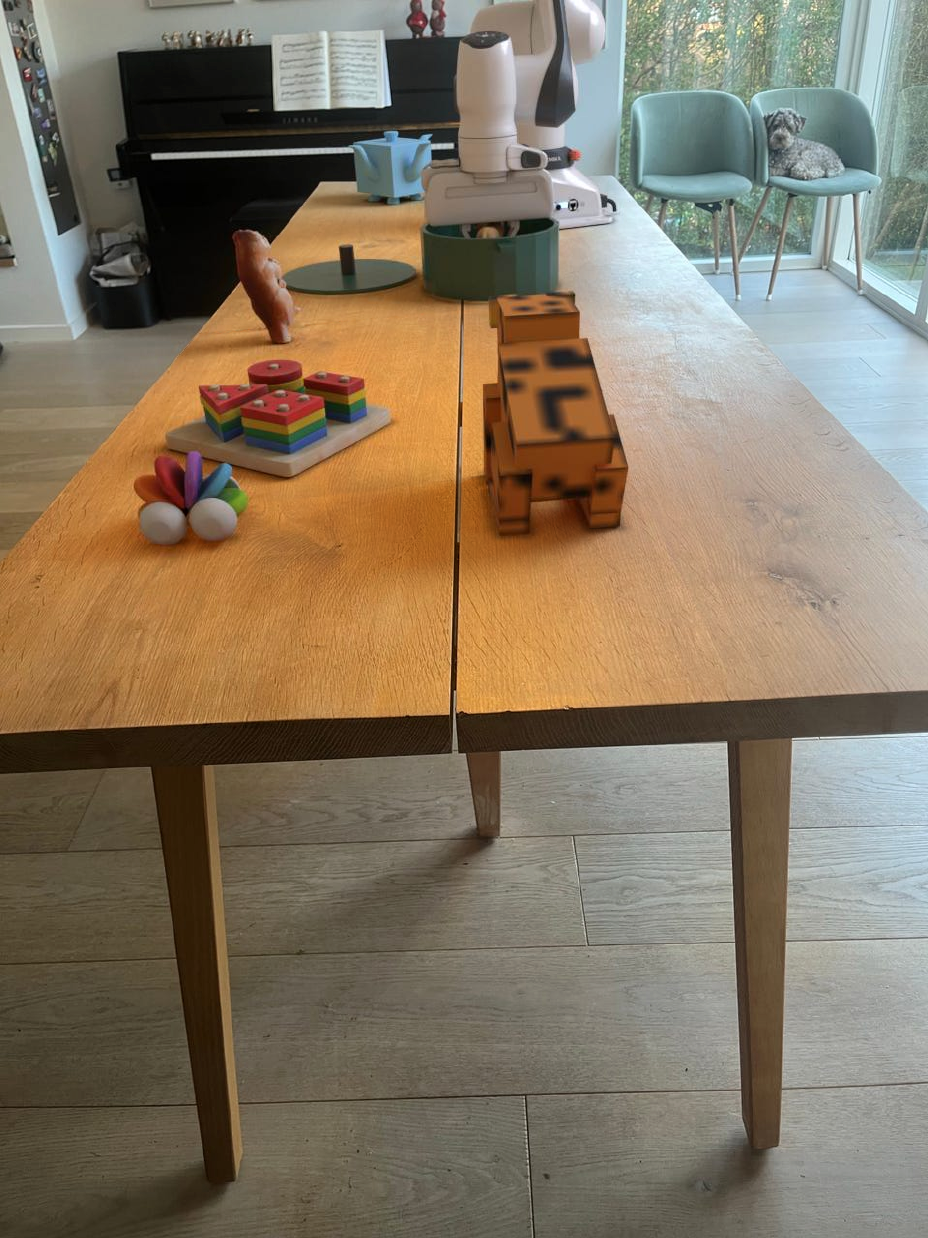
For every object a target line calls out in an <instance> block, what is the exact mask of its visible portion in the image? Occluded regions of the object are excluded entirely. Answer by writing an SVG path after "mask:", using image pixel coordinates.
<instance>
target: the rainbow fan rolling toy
mask: <svg viewBox="0 0 928 1238" xmlns="http://www.w3.org/2000/svg"><path fill="white" fill-rule="evenodd" d="M153 467H154V473H155V474H143V475H140V476H138V477H137V478H136V479H135V480H134V482H133V490H134V493H135V494H136V495H137V496H138V497H139V498H140V499H141V500H142V501H143V502H144V503H143V504H142V505H140V507H139V508H138V510H137V518H138V522H139V529H140V531H141V533H142V535H143V536H144V537H145V539H147V541H149V542H151V543H152V544H154V545H157V546H163V547H164V546H165V547H166V546H171V545H175V544H176V543H179V541H181V540H182V539H183V538H184V537H185V535H186V534H187V532H188V525H189V526H190V528H191V529H192V531H193V532H194V534H195V535H196V536H197V537H198V538H200V539H202V540H204V541H207V542H211V543H217V542H222V541H224V540H226V539H228V538H229V537H230V536H232V535H233V533H234V532H235V531H236V529H237V525H238V516H239V515H241V514H242V513H243V512H245V510H246V509H247V508H248V505H249V499H248V496H247V494H246V492H245V491H244V490H242V488H241V486H240V484H239V482H238V481H237V480H236V479H235V477H233V476H232V474H233V467H232V466H231V464H229V463H225V462H222V463H221V464H219V465H217V467H215V469H213V471H212V472H211V473H209V474H207V475H205V476H204V474H203V473H204V472H203V470H204V469H203V468H204V467H203V457H201V455H200V453H199V452H197V451H191V452H189V453H187V455H186V460H185V467H184V469H183V467H182V466H181V464H180V463H179V462H178V461H177V460H176V459H175V458H173V457H171V456H170V455H165V454H162V455H159V456H157V457H156V458H155V459H154V463H153ZM203 476H204V477H203ZM188 515H189V516H188ZM187 517H188V520H187ZM188 522H189V523H188Z"/></svg>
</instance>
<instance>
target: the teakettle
mask: <svg viewBox="0 0 928 1238" xmlns="http://www.w3.org/2000/svg"><path fill="white" fill-rule="evenodd" d="M383 136H384V137H383V138H377V139H376V138H375V139H369V140H368V139H367V140H362V141H356V142H353V143H352V145H348V148H350V149H352V150H353V157H354V167H355V168H354V169H355V180H356V181H355V182H356V191H357V192H356V193H360V194H367V195H370V197H369V199H368V202H371V203H372V202H373V203H374V202H380V201H381V200H382V197H387V201H386V204H387V205H390V206H391V205H393V206H394V205H400V203H401V201H400V198H401V197H406V196H409V199H410V200H411V201H420V200H423V199H424V198H423V197H422V195H421V194H423V193H425V191H424V190H423V188H422V184H421V172H422V169H423V168H424V166H425V165H427V164H429V163H430V161H433V160H432V143H431V140H429V139H430V138H431V137H432V136H433V133H430V134H423V135H421V136H420V138H419V139H416V138H408V137H398V136H399V131H397V130H389V131H384V132H383ZM429 168H431V167H430V166H429V167H427V168H426V169H429Z"/></svg>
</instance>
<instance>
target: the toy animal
mask: <svg viewBox="0 0 928 1238" xmlns="http://www.w3.org/2000/svg"><path fill="white" fill-rule="evenodd" d="M580 320H581V311H580V309H579V308H578V307H577V305H576V293H575V292H574V291H573V290H566V291H565V290H564V291H553V292H548V293H545V294H544V295H528V296H517V294H515V295H498V296H489V301H488V321H489V324H488V325H489V328H490V329H496V335H497V336H496V337H497V338H496V339H497V340H496V341H497V343H496V344H497V379H496V380H497V382H492V383H483V384H482V421H483V422H482V425H483V428H482V430H483V431H482V432H483V433H482V434H483V436H482V437H483V472H484V478H485V484H486V485H487V489H488V490H487V491H488V495H489V499H490V502H491V506H492V510H493V515H494V519H495V523H496V526H497V531H498V535H499V536H504V535H506V536H507V535H517V534H530V533H531V508H532V507H531V506H532V503H538V502H539V503H540V502H553V501H555V502H556V501H566V500H567V501H568V500H577V501H578V503H579V506H580V508H581V510H582V512H583V515H584V518H585V520H586V523H587V525H588V526H589V529H601V528H603V529H604V528H617V527H621V520H622V519H621V517H622V508H623V504H624V503H623V502H624V496H625V490H626V485H627V479H628V474H629V464H628V460H627V456H626V453H625V449H624V445H623V442H622V438H621V435H620V432H619V428H618V425H617V421H616V418H615V414H614V413H611V414H609V411H608V408H607V404H606V400H605V397H604V393H603V392H604V391H603V389H602V386H601V382H600V377H599V374H598V370H597V367H596V364H595V360H594V356H593V353H592V349H591V346H590V341H589V338H588V337H582V338H580V326H581V325H580V323H581V322H580Z"/></svg>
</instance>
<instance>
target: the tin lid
mask: <svg viewBox="0 0 928 1238" xmlns="http://www.w3.org/2000/svg"><path fill="white" fill-rule="evenodd" d="M338 253H339V259H337V260H336V259H335V260H329V261H323V262H316V263H311V264H307V265H304V266H300V267H297V268H294V269H291V270H288V271H287V272H285V273H284V274H283V275H282V278H281V279H282V280H284V281H285V282H286V289H287V290H291V291H294V292H299V293H304V294H311V295H314V294H315V295H348V294H349V295H352V294H362V293H370V292H376V291H382V290H387V289H391V288H394V287H398V286H401V285H404V284H407V283H408V282H410V281H413V279H415V278H416V275H417V271H416V268H415V267H414V266H413V265H411V264H409V263H406V262H402V261H398V260H391V259H381V258H355V249H354V245H353V244H347V243H346V244H341V245H339V246H338Z"/></svg>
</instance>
